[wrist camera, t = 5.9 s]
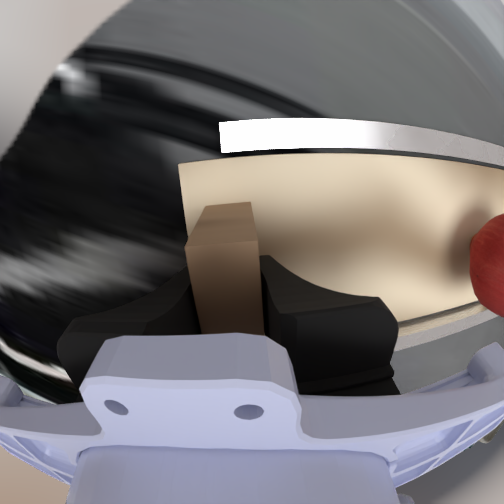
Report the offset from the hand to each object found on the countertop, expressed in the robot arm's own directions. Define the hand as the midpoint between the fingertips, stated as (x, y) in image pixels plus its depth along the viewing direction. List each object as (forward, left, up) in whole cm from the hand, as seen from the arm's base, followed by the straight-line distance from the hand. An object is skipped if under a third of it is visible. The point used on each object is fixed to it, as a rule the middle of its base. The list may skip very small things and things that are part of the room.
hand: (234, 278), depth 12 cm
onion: (0, -15, -2) cm, 15 cm away
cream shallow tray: (0, -9, -2) cm, 9 cm away
